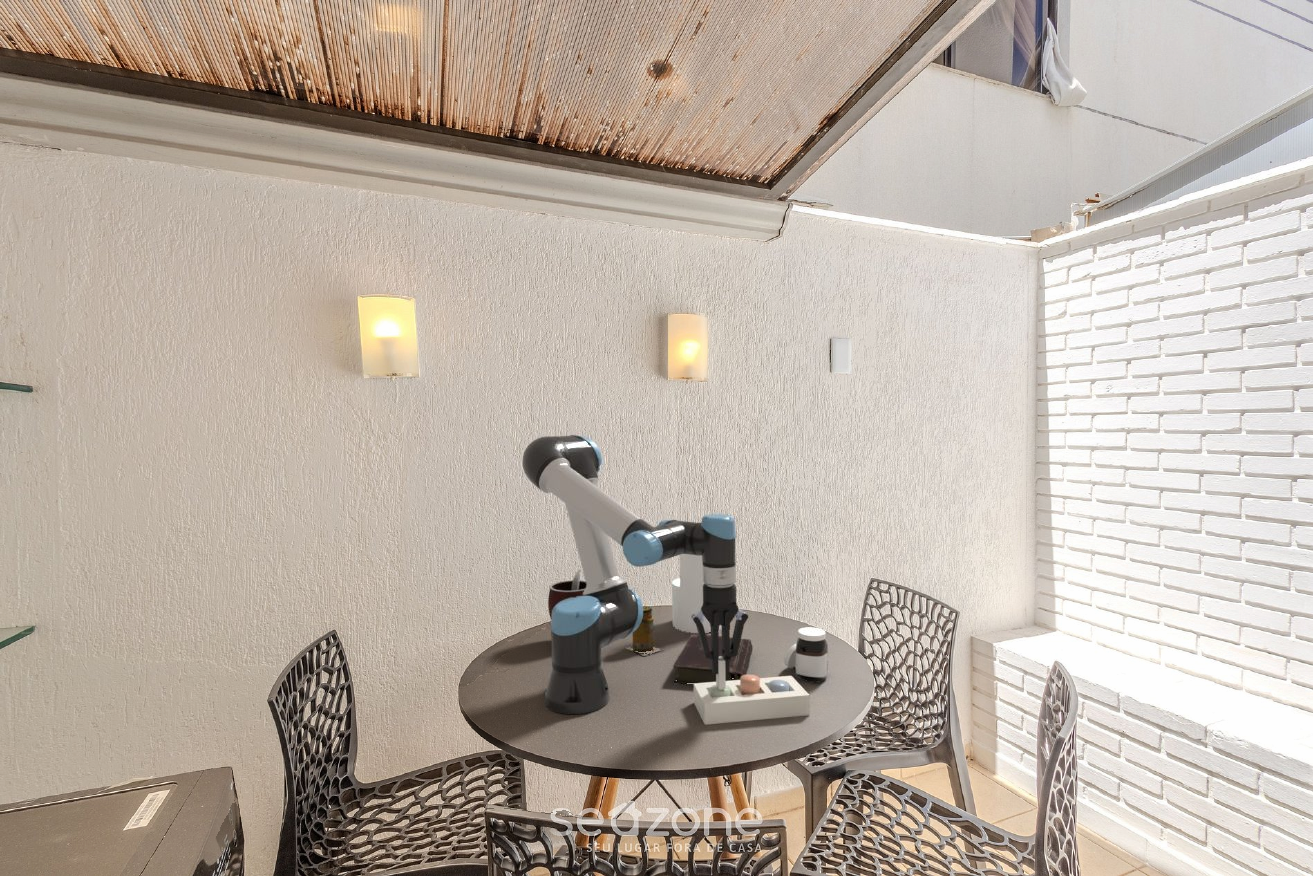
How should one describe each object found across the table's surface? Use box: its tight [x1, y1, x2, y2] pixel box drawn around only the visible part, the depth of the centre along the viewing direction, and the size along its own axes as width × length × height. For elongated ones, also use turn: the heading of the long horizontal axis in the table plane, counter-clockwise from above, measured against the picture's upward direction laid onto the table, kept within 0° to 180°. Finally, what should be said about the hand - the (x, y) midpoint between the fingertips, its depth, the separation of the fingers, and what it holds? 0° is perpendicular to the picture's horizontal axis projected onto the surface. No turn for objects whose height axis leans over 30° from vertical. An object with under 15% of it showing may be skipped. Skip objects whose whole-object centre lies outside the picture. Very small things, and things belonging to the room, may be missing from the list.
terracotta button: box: [740, 674, 761, 695], centre depth 144 cm, size 4×4×3 cm
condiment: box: [626, 605, 661, 657], centre depth 183 cm, size 7×8×12 cm
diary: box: [673, 634, 753, 686], centre depth 169 cm, size 19×25×5 cm
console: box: [693, 675, 811, 725], centre depth 144 cm, size 24×11×4 cm, turn 99°
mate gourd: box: [547, 569, 587, 619], centre depth 191 cm, size 16×14×20 cm
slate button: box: [770, 680, 789, 693], centre depth 145 cm, size 4×4×3 cm
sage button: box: [711, 685, 730, 698], centre depth 143 cm, size 4×4×3 cm
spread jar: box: [783, 626, 829, 683], centre depth 164 cm, size 12×11×12 cm
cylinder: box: [671, 554, 722, 634], centre depth 205 cm, size 17×17×28 cm
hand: (720, 687), depth 143 cm, fingers closed
